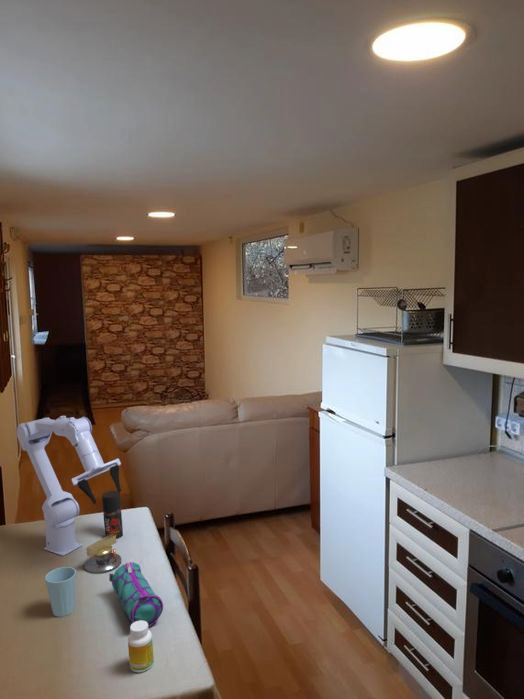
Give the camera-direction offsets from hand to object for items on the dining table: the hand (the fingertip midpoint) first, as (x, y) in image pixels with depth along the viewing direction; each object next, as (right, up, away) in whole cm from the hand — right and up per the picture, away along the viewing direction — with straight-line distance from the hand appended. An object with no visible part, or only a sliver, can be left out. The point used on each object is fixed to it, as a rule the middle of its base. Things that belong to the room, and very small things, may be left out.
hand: (107, 497), depth 162 cm
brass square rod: (-4, -19, +7) cm, 21 cm away
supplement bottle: (+18, -29, -37) cm, 50 cm away
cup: (-7, -26, -15) cm, 31 cm away
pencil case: (+12, -26, -16) cm, 33 cm away
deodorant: (-5, -21, +26) cm, 34 cm away
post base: (-4, -23, +8) cm, 24 cm away
